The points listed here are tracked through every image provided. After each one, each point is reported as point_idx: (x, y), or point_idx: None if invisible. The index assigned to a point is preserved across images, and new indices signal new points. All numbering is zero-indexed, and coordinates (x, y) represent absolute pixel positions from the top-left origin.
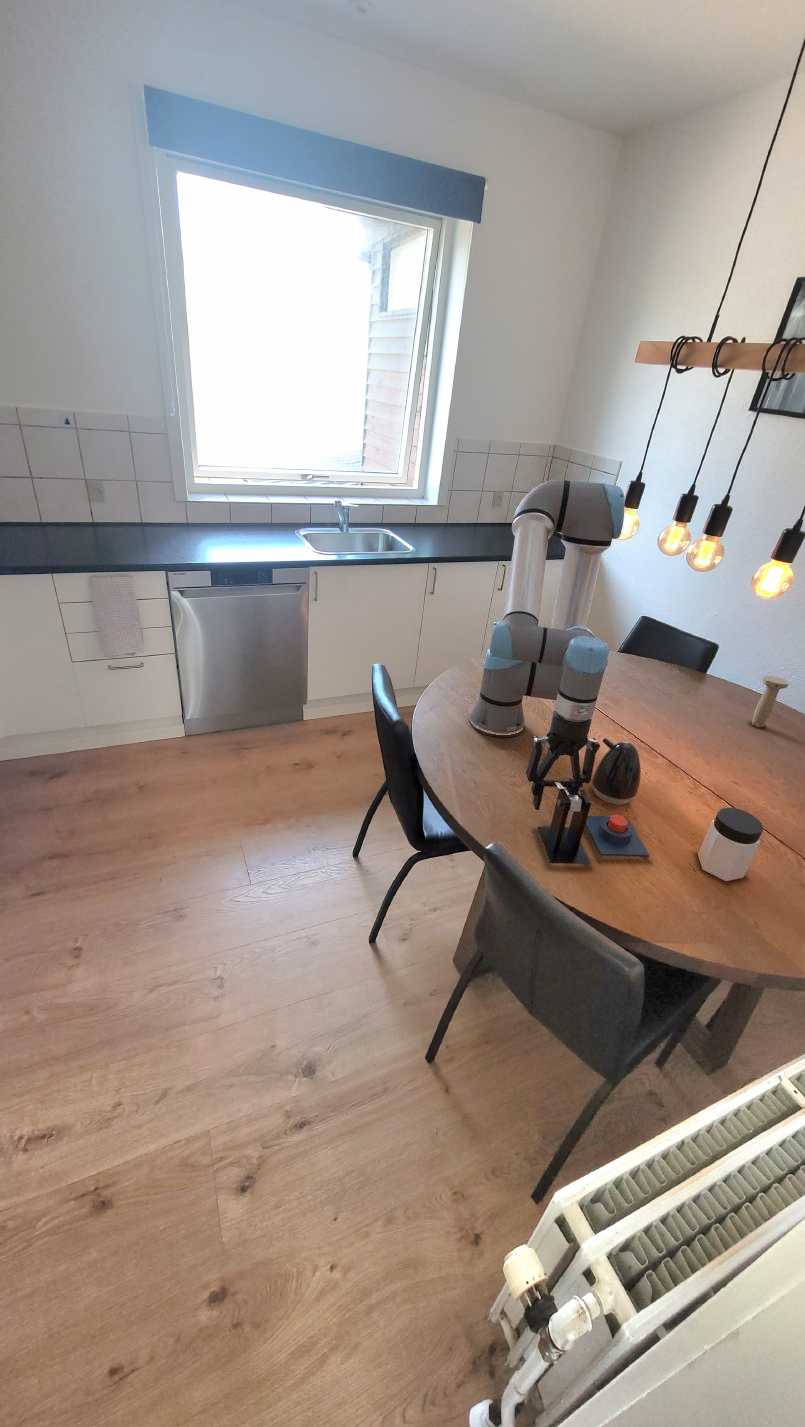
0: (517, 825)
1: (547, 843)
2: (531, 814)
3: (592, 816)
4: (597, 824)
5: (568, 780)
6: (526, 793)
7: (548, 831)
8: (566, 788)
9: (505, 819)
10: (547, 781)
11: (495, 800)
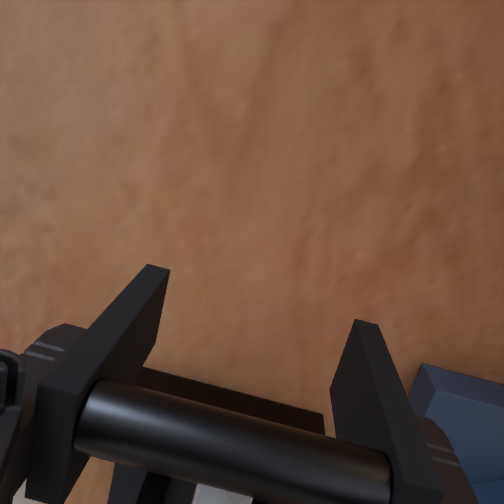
0: (65, 304)
1: (130, 491)
2: (178, 242)
3: (492, 409)
4: (467, 469)
5: (399, 468)
6: (242, 31)
7: None
8: (377, 399)
9: (16, 248)
10: (124, 459)
11: (3, 65)
